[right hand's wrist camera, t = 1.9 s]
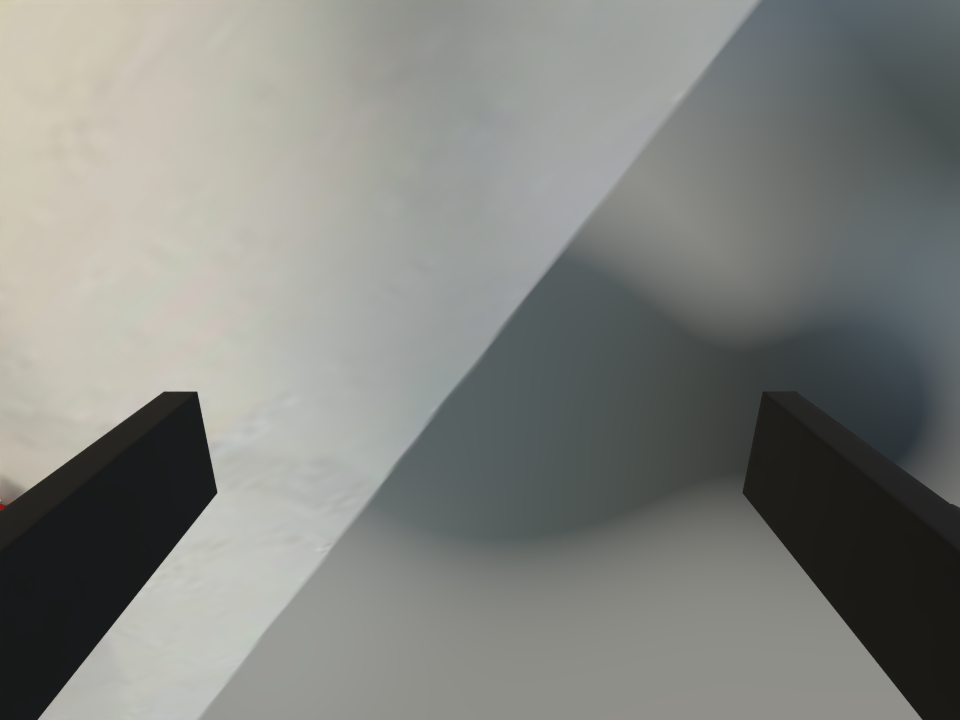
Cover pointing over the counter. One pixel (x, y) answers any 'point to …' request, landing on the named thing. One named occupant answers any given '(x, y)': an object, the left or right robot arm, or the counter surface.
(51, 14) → the counter surface
